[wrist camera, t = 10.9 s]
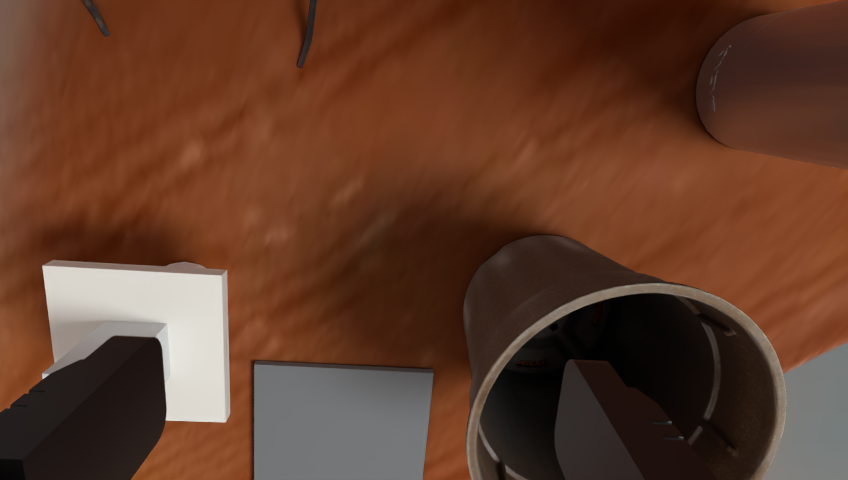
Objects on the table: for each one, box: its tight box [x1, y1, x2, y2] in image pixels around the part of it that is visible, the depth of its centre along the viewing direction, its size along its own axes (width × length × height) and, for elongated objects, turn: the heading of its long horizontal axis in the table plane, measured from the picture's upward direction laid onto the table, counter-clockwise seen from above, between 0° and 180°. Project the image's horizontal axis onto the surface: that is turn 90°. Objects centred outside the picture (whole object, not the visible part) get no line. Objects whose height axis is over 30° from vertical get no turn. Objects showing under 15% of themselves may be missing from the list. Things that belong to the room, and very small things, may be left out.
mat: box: [254, 361, 434, 480], centre depth 43 cm, size 14×14×1 cm
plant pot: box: [463, 235, 786, 480], centre depth 34 cm, size 16×16×16 cm
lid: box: [42, 260, 230, 422], centre depth 29 cm, size 10×10×7 cm
